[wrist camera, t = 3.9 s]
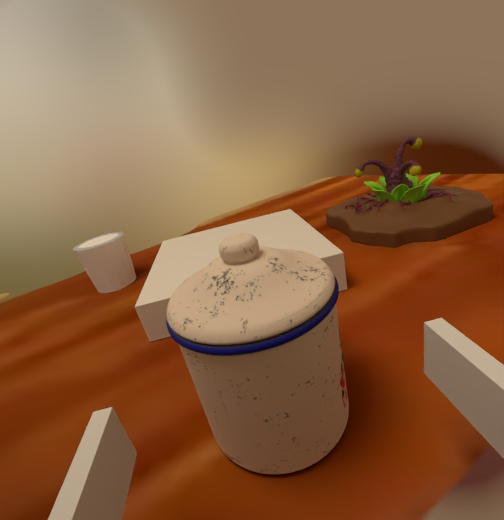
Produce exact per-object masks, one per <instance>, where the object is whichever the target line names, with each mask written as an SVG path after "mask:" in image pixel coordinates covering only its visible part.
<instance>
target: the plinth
mask: <svg viewBox="0 0 504 520" xmlns="http://www.w3.org/2000/svg"><path fill="white" fill-rule="evenodd" d="M240 233H250V234H252V235H254V236H255V237H256V238H257V240H258V244H259V246H265V247H271V248H275V249H291V250H298V251H303V252H307V253H310V254H312V255H315V256H316V257H318V258H320V259H321V260H323V261H324V262H325V263H326V264H327V265H328V266H329V267H330V269H331V270H332V272H333V274H334V276H335V277H336V279H337V282H338V286H339V291H343V290H346V289H347V281H346V272H345V263H344V254H343V252H342V251H341V250H340V249H338V248H337V247H336V246H335V245H333V244H332V243H331V242H330V241H329V240H327V239H326V238H325V237H324V236H322V235H321V234H320V233H319V232H318V231H316V230H315V229H314V228H313V227H312V226H310V225H309V224H308V223H307V222H305V221H304V220H303V219H302V218H301V217H299V216H298V215H297V214H296V213H294V212H293V211H292V210H291V209H288V210H284V211H280V212H276V213H272V214H268V215H264V216H260V217H257V218H253V219H249V220H245V221H241V222H237V223H233V224H229V225H225V226H221V227H217V228H213V229H209V230H205V231H201V232H197V233H193V234H189V235H185V236H181V237H177V238H173V239H169V240H165V241H163V243H162V245H161V247H160V250H159V252H158V254H157V256H156V259H155V261H154V263H153V266H152V268H151V270H150V273H149V275H148V277H147V280H146V282H145V284H144V287H143V289H142V291H141V294H140V296H139V298H138V301H137V303H136V305H135V309H136V311H137V313H138V316H139V318H140V321H141V323H142V325H143V328H144V330H145V332H146V335H147V337H148V339H149V342H151V341H155V340H159V339H163V338H166V337H170V336H171V335H170V334H169V331H168V329H167V324H166V317H167V316H166V311H167V306H168V303H169V300H170V298H171V296H172V294H173V293H174V291H175V290H176V289H177V288H178V287H179V285H180V284H181V283H182V282H184V281H185V280H186V279H187V278H188V277H190V276H191V275H193V274H194V273H196V272H197V271H199V270H201V269H202V268H204V267H206V266H207V265H208V264H209V263H210V262H212V261H213V260H214V259H216V258H217V257H219V256H220V253H219V245H220V243H221V241H222V240H223V239H225V238H227V237H229V236H232V235H235V234H240Z"/></svg>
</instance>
